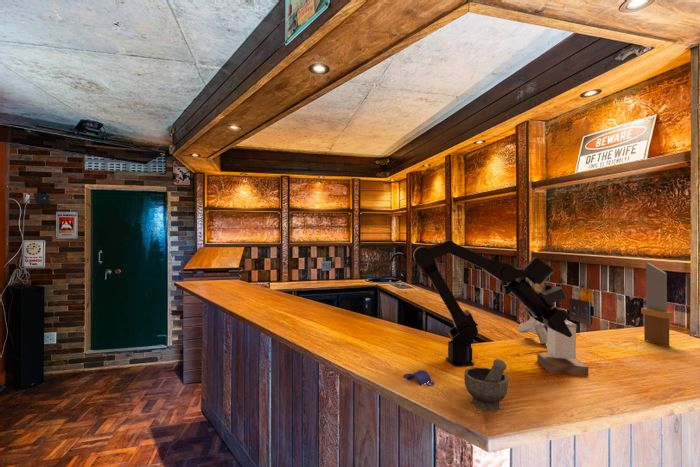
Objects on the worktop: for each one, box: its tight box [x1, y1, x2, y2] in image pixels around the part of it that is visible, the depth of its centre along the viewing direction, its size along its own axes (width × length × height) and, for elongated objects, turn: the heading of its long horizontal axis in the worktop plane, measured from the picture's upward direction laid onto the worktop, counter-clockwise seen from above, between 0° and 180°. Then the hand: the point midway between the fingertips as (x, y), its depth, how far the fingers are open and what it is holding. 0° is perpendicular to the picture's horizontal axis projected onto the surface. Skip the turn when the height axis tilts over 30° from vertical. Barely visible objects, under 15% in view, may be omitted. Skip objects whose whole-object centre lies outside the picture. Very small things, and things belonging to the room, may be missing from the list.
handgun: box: [517, 316, 547, 345], centre depth 136 cm, size 20×4×11 cm, turn 1°
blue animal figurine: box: [402, 369, 436, 387], centre depth 95 cm, size 9×5×3 cm, turn 43°
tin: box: [546, 319, 578, 359], centre depth 105 cm, size 6×6×10 cm
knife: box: [640, 262, 674, 346], centre depth 131 cm, size 8×4×30 cm, turn 9°
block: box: [536, 352, 589, 376], centre depth 105 cm, size 10×10×3 cm
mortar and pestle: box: [463, 358, 509, 412], centre depth 81 cm, size 11×9×12 cm
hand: (566, 333), depth 105 cm, fingers closed on tin, 6 cm apart
